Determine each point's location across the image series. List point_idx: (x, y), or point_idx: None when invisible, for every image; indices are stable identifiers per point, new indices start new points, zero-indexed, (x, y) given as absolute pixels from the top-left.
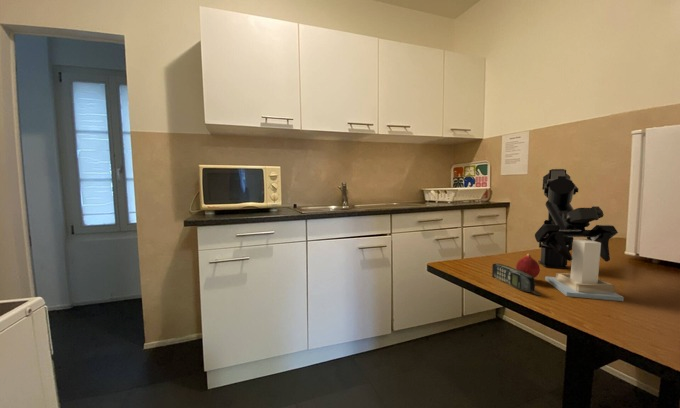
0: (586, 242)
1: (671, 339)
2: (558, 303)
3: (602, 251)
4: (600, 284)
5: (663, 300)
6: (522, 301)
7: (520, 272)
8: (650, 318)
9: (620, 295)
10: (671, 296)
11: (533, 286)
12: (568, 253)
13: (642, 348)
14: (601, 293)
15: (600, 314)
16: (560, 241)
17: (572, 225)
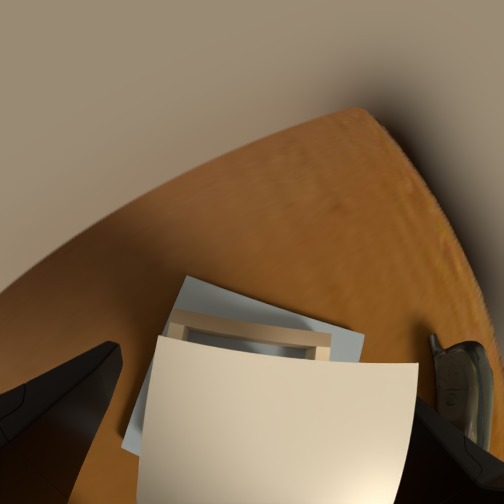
0: (387, 379)
1: (294, 128)
2: (411, 284)
3: (78, 412)
4: (229, 326)
5: (59, 268)
6: (471, 299)
7: (490, 381)
8: (239, 182)
9: (181, 290)
10: (14, 286)
11: (455, 345)
12: (421, 406)
13: (366, 128)
14: (237, 317)
15: (350, 216)
16: (493, 466)
17: None
